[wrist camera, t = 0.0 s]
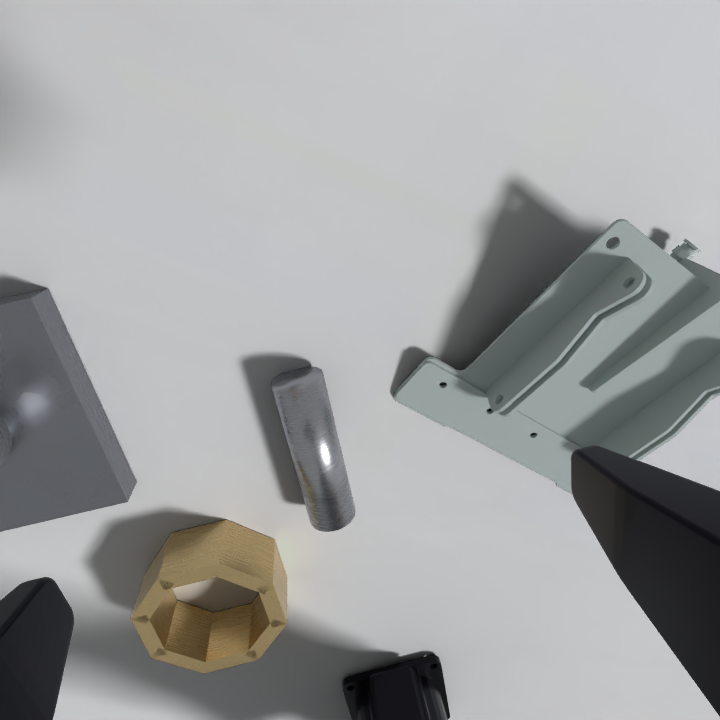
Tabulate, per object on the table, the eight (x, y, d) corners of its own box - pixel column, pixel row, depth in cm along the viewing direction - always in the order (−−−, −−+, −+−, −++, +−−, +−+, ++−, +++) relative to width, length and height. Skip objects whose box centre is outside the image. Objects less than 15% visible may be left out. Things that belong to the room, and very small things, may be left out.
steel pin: (352, 494, 27) (357, 525, 24) (309, 504, 26) (310, 536, 24) (321, 362, 23) (324, 384, 21) (272, 373, 23) (269, 396, 21)
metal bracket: (625, 183, 16) (860, 382, 21) (568, 141, 21) (771, 311, 26) (378, 436, 23) (593, 541, 28) (377, 363, 28) (562, 463, 33)
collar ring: (295, 602, 29) (296, 650, 26) (176, 632, 28) (165, 683, 26) (264, 510, 26) (262, 552, 23) (132, 542, 26) (113, 588, 23)
